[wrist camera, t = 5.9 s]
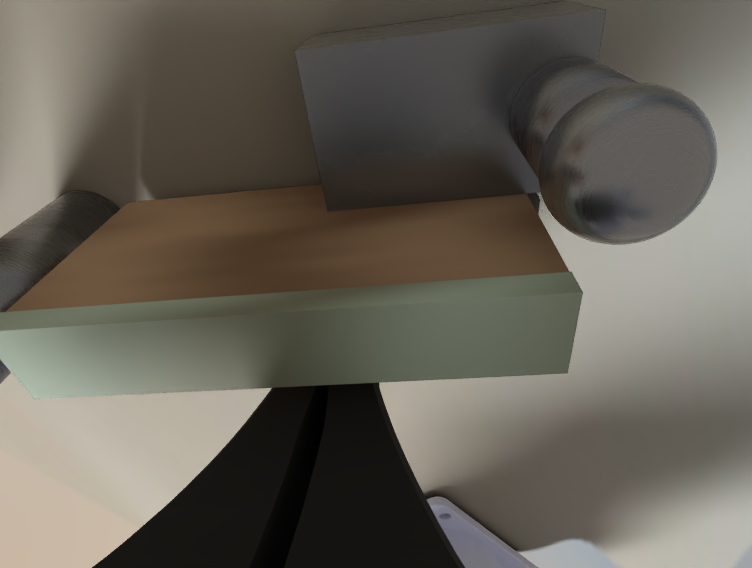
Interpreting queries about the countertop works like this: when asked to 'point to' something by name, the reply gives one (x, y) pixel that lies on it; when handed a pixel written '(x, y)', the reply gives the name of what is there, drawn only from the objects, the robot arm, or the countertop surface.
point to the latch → (503, 121)
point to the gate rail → (295, 297)
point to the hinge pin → (47, 243)
